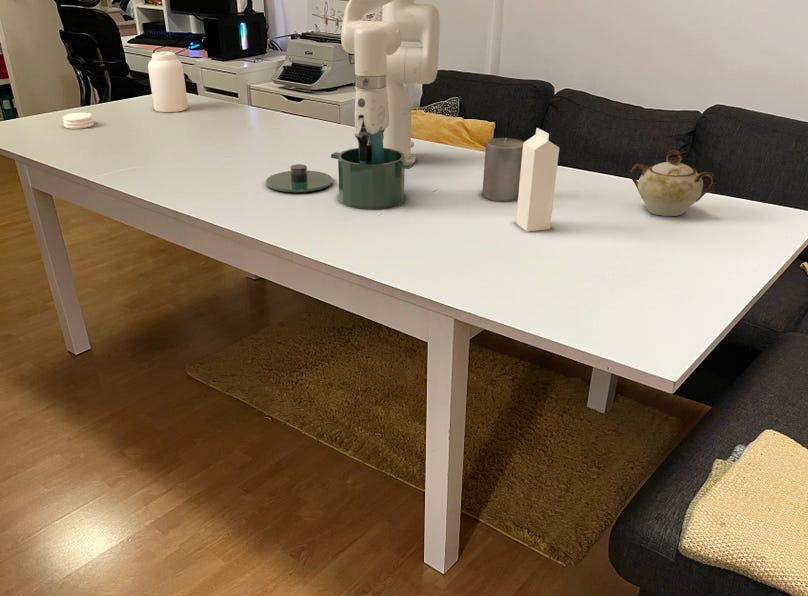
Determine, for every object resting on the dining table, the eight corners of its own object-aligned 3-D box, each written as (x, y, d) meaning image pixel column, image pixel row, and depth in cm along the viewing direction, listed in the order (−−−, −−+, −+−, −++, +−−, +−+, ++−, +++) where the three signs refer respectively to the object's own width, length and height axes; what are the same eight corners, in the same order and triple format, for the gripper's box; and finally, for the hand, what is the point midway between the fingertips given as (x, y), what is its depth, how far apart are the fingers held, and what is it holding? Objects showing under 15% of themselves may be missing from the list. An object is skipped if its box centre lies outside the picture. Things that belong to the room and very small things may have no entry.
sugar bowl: (616, 212, 183) (626, 151, 176) (633, 196, 194) (643, 137, 186) (700, 227, 174) (714, 163, 167) (713, 209, 185) (727, 148, 178)
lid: (289, 171, 213) (288, 154, 211) (344, 179, 206) (343, 162, 204) (253, 188, 199) (251, 170, 197) (310, 198, 192) (309, 179, 190)
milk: (526, 232, 172) (536, 135, 160) (515, 223, 177) (523, 128, 165) (550, 229, 173) (561, 132, 162) (538, 220, 178) (548, 126, 167)
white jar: (148, 112, 278) (139, 54, 268) (162, 105, 289) (154, 49, 279) (180, 113, 276) (172, 55, 266) (193, 106, 287) (186, 50, 277)
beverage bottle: (384, 191, 189) (379, 112, 177) (359, 191, 190) (351, 113, 178) (388, 180, 194) (383, 103, 182) (363, 180, 195) (356, 103, 183)
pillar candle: (497, 187, 200) (501, 130, 193) (527, 195, 194) (533, 137, 187) (474, 195, 194) (477, 137, 187) (504, 204, 188) (509, 144, 181)
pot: (349, 183, 203) (348, 142, 197) (423, 195, 194) (425, 153, 189) (318, 201, 190) (316, 158, 185) (396, 214, 182) (396, 169, 176)
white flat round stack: (73, 122, 265) (70, 111, 263) (99, 122, 263) (97, 112, 262) (58, 128, 256) (56, 118, 254) (86, 129, 255) (83, 119, 253)
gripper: (368, 89, 170) (368, 169, 179) (400, 77, 183) (399, 152, 192) (339, 86, 173) (341, 165, 182) (373, 75, 186) (373, 148, 195)
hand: (371, 157), depth 187 cm, fingers closed on beverage bottle, 5 cm apart
